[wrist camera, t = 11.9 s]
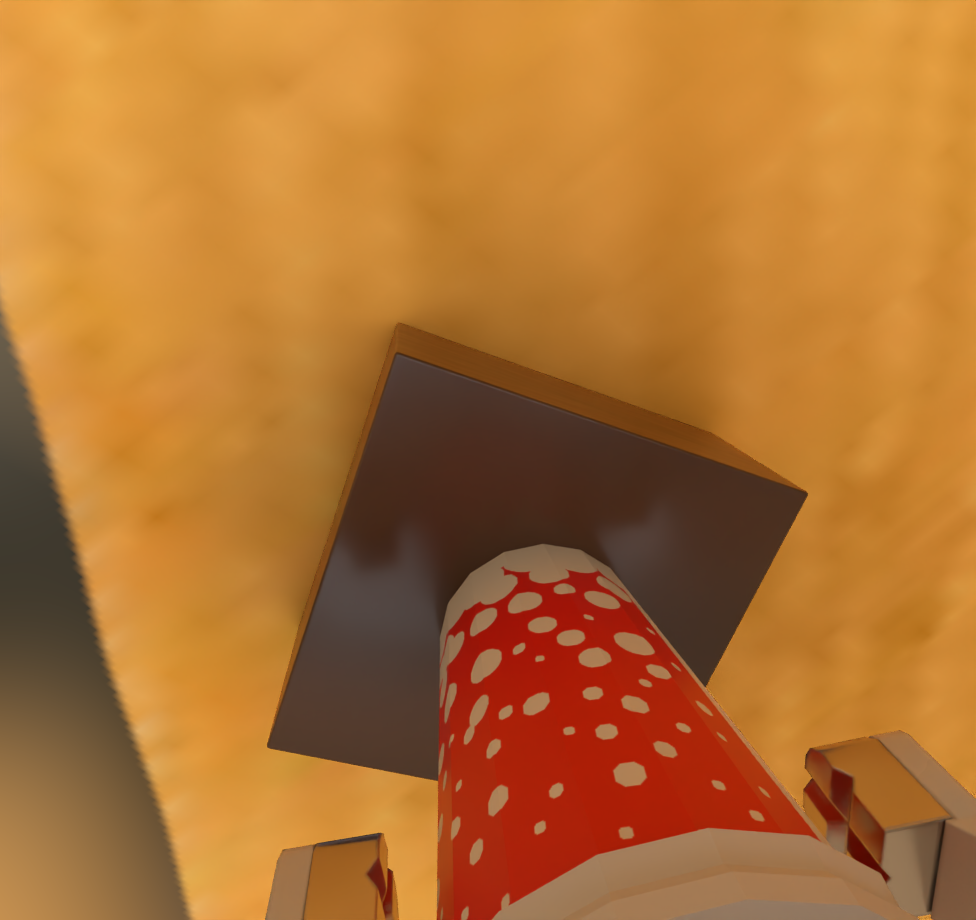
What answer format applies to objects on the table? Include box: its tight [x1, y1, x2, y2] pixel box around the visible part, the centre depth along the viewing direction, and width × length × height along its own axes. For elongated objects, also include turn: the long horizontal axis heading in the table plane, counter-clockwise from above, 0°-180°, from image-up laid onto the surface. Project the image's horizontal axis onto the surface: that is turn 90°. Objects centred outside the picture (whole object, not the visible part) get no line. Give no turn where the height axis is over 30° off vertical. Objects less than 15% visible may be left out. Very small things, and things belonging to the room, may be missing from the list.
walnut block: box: [267, 323, 808, 781], centre depth 18 cm, size 10×10×5 cm
